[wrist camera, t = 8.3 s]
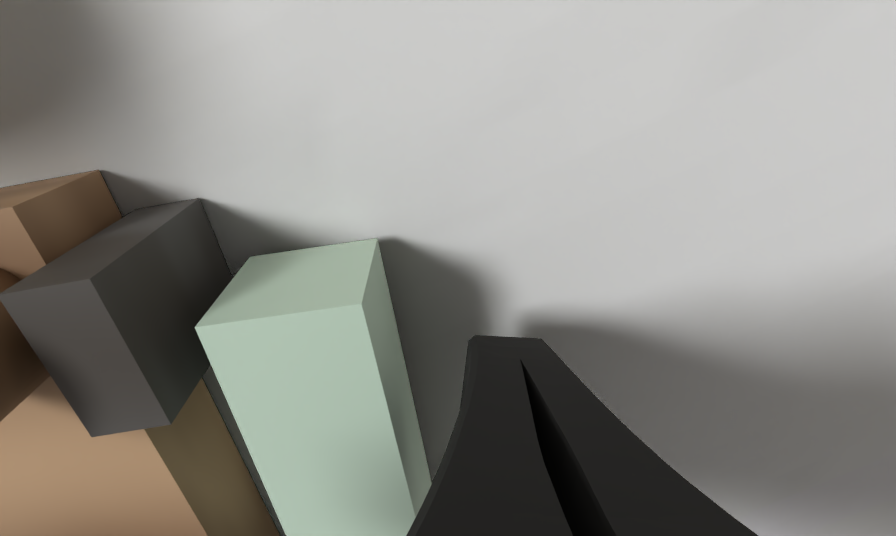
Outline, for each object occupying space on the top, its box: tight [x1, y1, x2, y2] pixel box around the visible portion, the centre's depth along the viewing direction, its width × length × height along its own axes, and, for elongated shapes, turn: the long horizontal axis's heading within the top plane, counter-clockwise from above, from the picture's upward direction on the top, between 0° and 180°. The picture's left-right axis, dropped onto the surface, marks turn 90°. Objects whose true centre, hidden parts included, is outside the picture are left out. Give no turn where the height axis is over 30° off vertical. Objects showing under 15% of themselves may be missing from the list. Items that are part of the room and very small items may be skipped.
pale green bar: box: [195, 238, 432, 536], centre depth 10 cm, size 9×2×2 cm, turn 8°
